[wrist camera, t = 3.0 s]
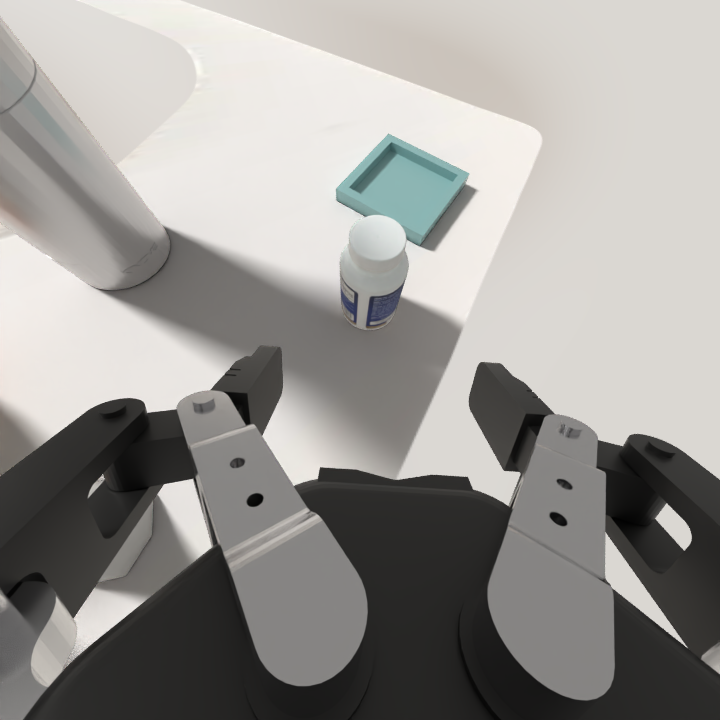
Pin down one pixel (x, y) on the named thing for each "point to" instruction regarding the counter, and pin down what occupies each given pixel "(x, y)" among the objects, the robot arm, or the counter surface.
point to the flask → (129, 544)
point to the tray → (403, 187)
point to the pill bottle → (373, 271)
